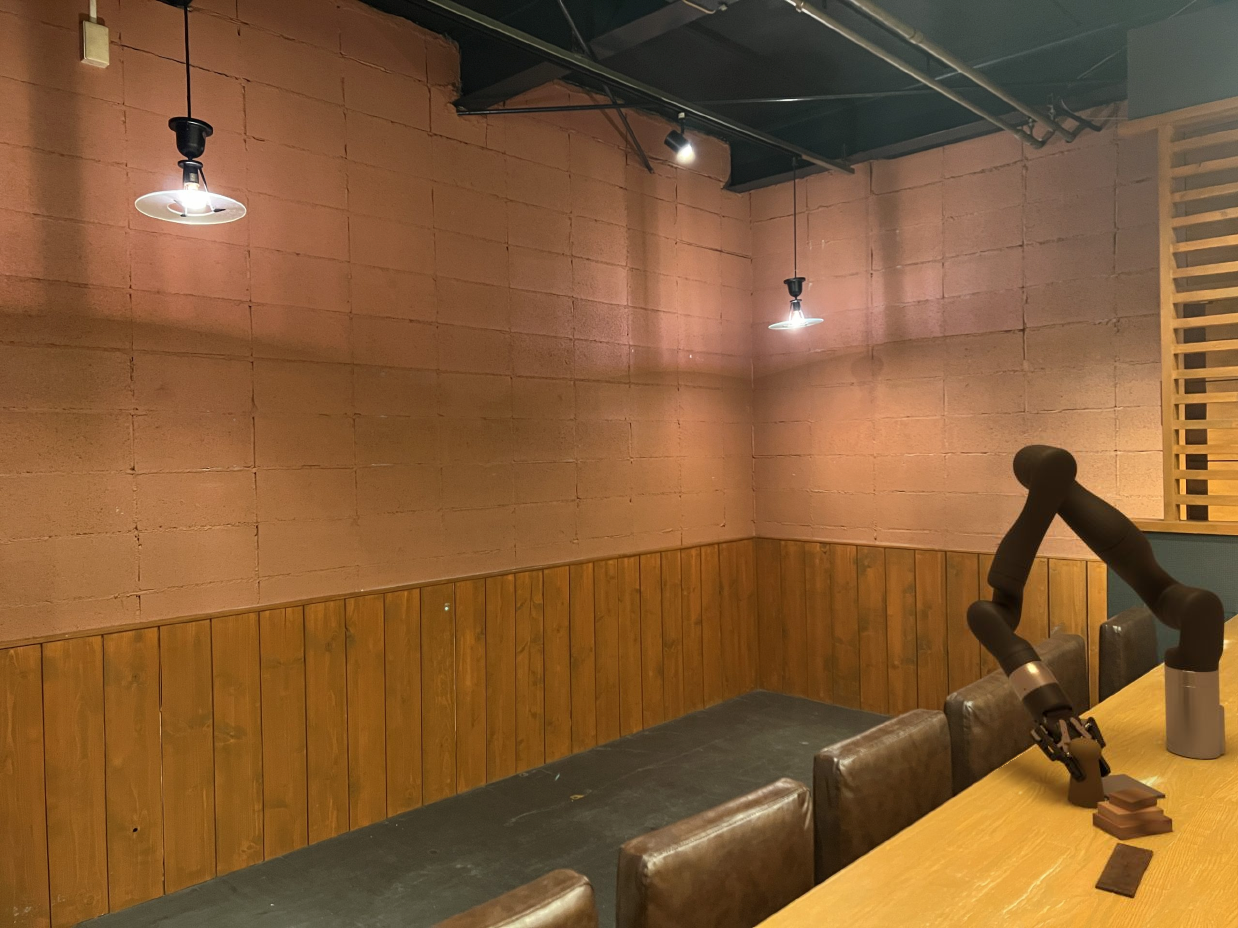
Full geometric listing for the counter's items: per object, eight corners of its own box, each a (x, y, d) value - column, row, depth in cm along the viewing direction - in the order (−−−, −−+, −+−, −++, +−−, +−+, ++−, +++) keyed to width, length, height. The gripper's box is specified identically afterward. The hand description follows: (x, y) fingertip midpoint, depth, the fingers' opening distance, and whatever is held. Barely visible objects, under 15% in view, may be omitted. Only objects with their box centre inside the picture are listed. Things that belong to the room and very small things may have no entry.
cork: (1102, 796, 158) (1100, 735, 158) (1109, 809, 152) (1107, 746, 152) (1064, 793, 160) (1063, 732, 160) (1070, 806, 154) (1068, 744, 154)
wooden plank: (1116, 839, 140) (1153, 846, 136) (1117, 848, 140) (1154, 854, 136) (1094, 885, 127) (1134, 893, 124) (1095, 894, 127) (1135, 903, 124)
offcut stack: (1142, 816, 149) (1141, 784, 149) (1173, 831, 143) (1172, 798, 143) (1092, 824, 147) (1091, 792, 147) (1122, 840, 141) (1121, 806, 141)
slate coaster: (1124, 776, 166) (1124, 773, 166) (1165, 797, 156) (1165, 794, 156) (1076, 782, 165) (1076, 778, 165) (1114, 803, 155) (1114, 800, 155)
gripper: (1019, 686, 160) (1075, 774, 149) (1080, 676, 165) (1138, 761, 154) (998, 707, 165) (1051, 793, 154) (1058, 697, 170) (1113, 780, 159)
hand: (1094, 777), depth 154 cm, fingers closed on cork, 5 cm apart
